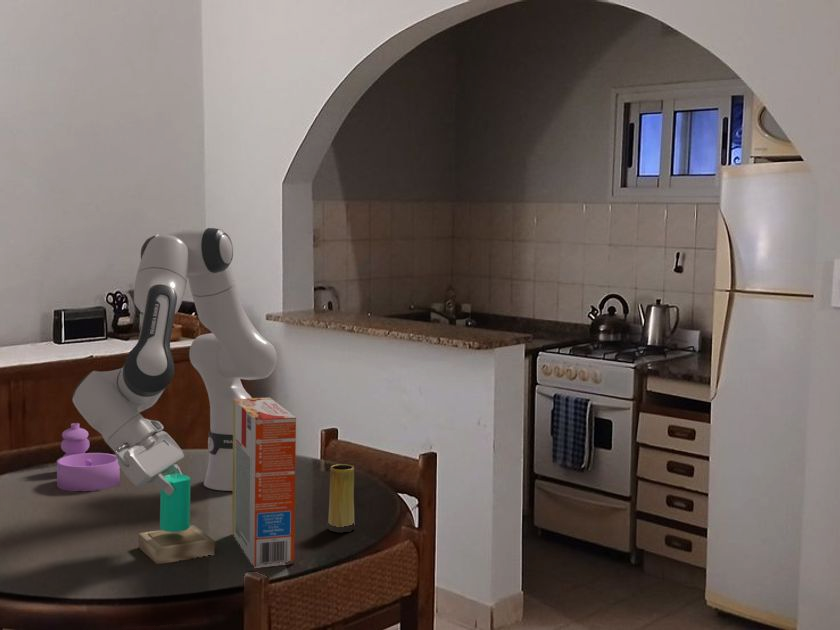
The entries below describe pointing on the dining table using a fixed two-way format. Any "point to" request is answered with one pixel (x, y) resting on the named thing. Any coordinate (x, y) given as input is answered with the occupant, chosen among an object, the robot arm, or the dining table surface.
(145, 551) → the base block
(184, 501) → the candle
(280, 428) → the cereal box
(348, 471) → the vase
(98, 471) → the container set
